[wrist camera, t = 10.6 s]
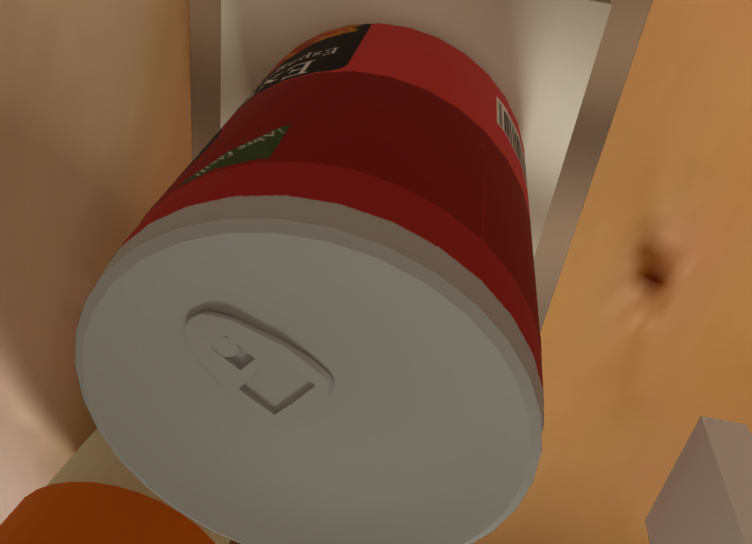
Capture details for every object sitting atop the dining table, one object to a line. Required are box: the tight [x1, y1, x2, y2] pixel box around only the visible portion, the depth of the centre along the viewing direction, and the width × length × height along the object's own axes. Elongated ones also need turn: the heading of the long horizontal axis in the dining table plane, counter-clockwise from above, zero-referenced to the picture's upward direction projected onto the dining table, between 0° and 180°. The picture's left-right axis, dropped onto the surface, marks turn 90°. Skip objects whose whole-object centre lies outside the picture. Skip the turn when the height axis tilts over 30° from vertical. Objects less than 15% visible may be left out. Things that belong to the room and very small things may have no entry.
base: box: [189, 0, 653, 331], centre depth 23 cm, size 12×12×5 cm
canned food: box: [75, 23, 544, 544], centre depth 16 cm, size 8×8×11 cm
